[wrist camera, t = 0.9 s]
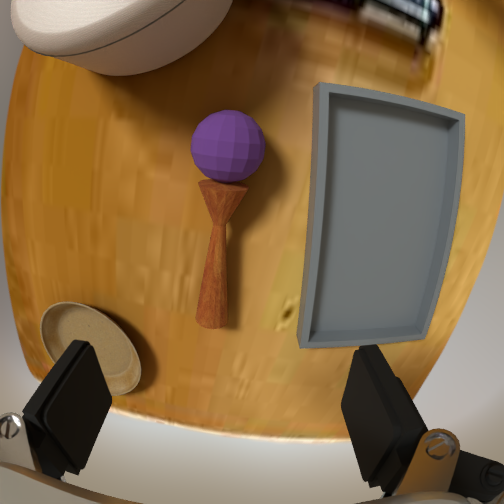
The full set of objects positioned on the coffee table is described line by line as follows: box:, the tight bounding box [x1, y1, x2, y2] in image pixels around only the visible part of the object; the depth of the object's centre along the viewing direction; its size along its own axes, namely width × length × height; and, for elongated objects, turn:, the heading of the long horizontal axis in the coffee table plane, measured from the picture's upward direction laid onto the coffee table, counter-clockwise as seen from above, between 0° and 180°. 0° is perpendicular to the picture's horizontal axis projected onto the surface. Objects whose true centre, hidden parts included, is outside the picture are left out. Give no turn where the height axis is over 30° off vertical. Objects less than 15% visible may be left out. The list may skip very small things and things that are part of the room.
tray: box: [297, 82, 465, 348], centre depth 27 cm, size 26×16×3 cm, turn 179°
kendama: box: [191, 110, 266, 329], centre depth 26 cm, size 6×6×20 cm
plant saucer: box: [40, 302, 141, 396], centre depth 33 cm, size 15×15×3 cm
